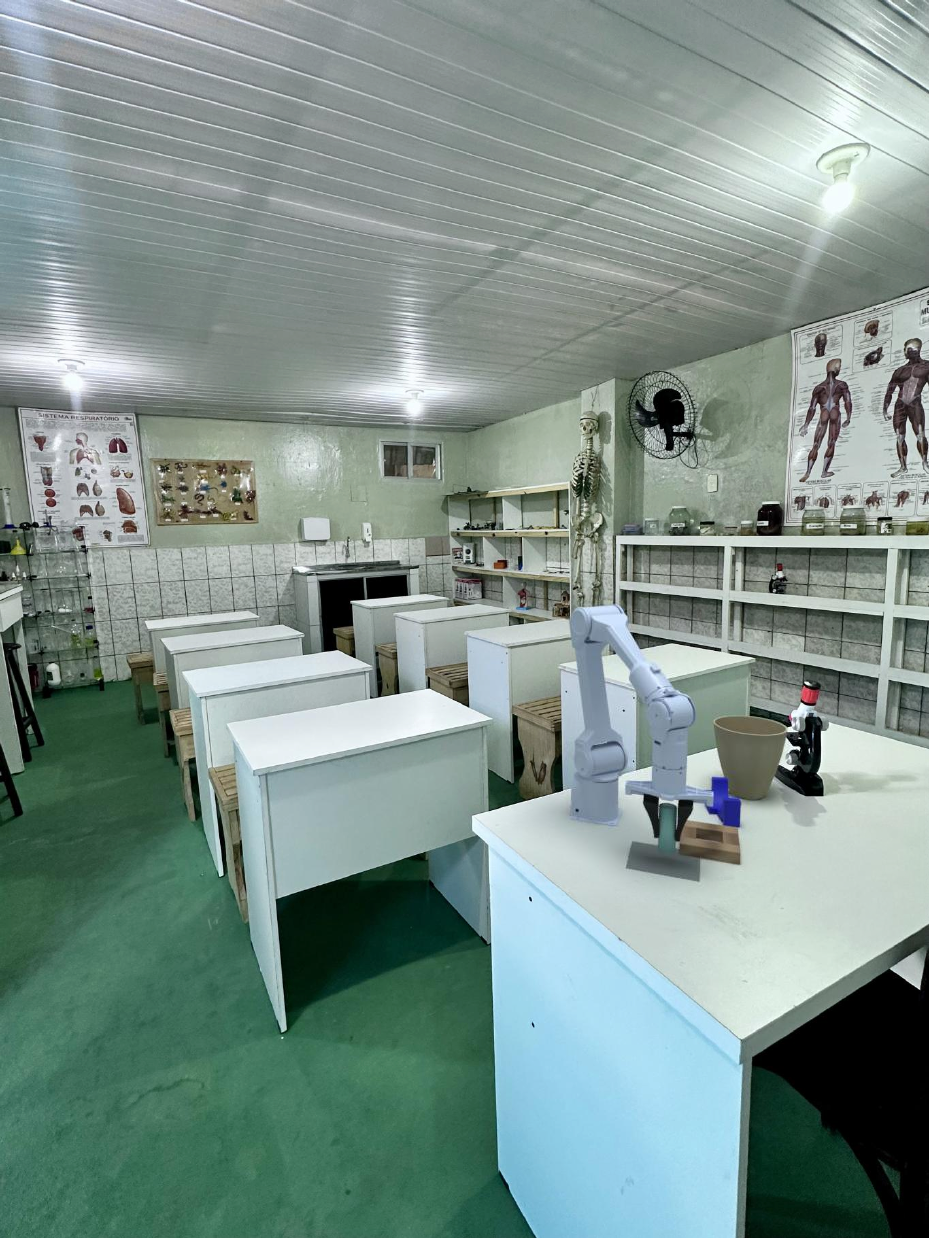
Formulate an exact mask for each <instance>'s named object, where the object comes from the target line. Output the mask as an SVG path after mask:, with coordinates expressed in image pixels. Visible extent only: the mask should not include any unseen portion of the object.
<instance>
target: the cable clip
mask: <svg viewBox="0 0 929 1238" xmlns="http://www.w3.org/2000/svg"><path fill="white" fill-rule="evenodd" d="M705 790H706V791H712V792H713V807H711V806H706V804H704V806H705V808H706V811H707V812H708V814H709V815H716V816H717V817H718V820H720V822H721V823H722V825H724V826H730V827H737V828H741V811H742V810H741V808H742V801H741V799H740V797H730V794H729V793H730V792H729V789H728V779H727V778H724V776H723V777H720V776H719V777H718V776H711V789H705Z"/></svg>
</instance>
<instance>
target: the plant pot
mask: <svg viewBox="0 0 929 1238" xmlns="http://www.w3.org/2000/svg"><path fill="white" fill-rule="evenodd" d="M713 729H714V738H715V744H716V751H717V756H718V760H719V763H720V764H719V765H720V767H721V771H722V775H723V777H724V778H727V779H728V792H729V793H730V794H731V795H734V796H735V797H736V798H739V799H740V798H741V799H746V800H760V799H763V798H764V797H766V795H767V793H768V790H769V789H770V787H771V785H772V783H773V780H774V778H775V775H776V773H777V771H778V767H779V765H780V762H781V759H782V756H783V753H784V752H783V751H784V748H785V743H786V740H787V737H788V731H789V729H788V727H787V726H786V725H784V724H783V723H781V722H779V721H776V720H773V719H768V718H763V717H758V716H753V715H752V716H750V715H749V716H748V715H723V716H719V717H717V718H715V719H713Z"/></svg>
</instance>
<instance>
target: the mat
mask: <svg viewBox="0 0 929 1238" xmlns="http://www.w3.org/2000/svg"><path fill="white" fill-rule="evenodd" d="M629 849H630V850H629V854H628V858H627V862H626V866H625V869H628V870H634V871H639V872H643V873H644V872H645V873H651V874H654V875H661V876H666V877H671V878H677V879H681V880H682V879H683V880H687V881H688V880H689V881H694V882H698V883H699V882H700V881H701V879H700V878H701V877H700V876H701V858H698V857H692V856H687V855H681V854H679V851H680V848H677V847H676V851H675V852H674V853H671V854H667V853H663V852H661V851H659V850H658V844H652V843H645V842H638V841H633V840H632V841H631V845H630V848H629Z"/></svg>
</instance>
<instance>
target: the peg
mask: <svg viewBox="0 0 929 1238" xmlns="http://www.w3.org/2000/svg"><path fill="white" fill-rule="evenodd" d="M658 816H659V826H658V838H657V845H658V850H659V851H661V852H663V853H667V854H671V853H674V852H675V851H676V848H677V842H676V829H677V816H678V805H676V804H673V803H671V802H662V803H659V812H658Z"/></svg>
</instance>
